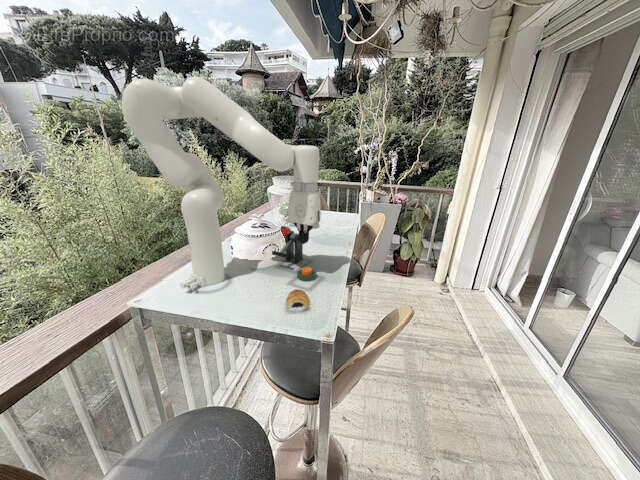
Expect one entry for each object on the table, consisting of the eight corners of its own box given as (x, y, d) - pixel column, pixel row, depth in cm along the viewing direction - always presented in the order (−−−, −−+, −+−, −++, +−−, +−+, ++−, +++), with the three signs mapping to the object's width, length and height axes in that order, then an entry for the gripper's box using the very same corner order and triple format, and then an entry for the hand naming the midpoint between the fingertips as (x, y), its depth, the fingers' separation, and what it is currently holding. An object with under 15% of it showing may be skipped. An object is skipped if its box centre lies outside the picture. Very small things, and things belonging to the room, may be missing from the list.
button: (308, 277, 90) (308, 272, 89) (299, 274, 91) (299, 270, 91) (313, 272, 93) (313, 268, 92) (304, 270, 94) (304, 266, 94)
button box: (309, 290, 87) (309, 281, 86) (289, 283, 90) (288, 275, 89) (323, 277, 95) (323, 270, 94) (304, 272, 99) (304, 264, 98)
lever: (286, 260, 94) (285, 255, 92) (272, 256, 96) (271, 251, 95) (303, 239, 102) (302, 234, 100) (290, 236, 104) (288, 231, 103)
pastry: (287, 294, 84) (287, 284, 82) (308, 294, 84) (308, 284, 83) (286, 312, 75) (286, 301, 74) (309, 312, 76) (310, 300, 74)
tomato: (278, 237, 133) (277, 222, 130) (294, 239, 131) (294, 224, 128) (270, 243, 125) (270, 227, 122) (288, 245, 123) (288, 229, 120)
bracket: (295, 272, 98) (295, 240, 94) (275, 266, 102) (275, 235, 97) (311, 261, 108) (312, 231, 104) (292, 256, 112) (292, 227, 108)
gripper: (278, 185, 82) (278, 241, 89) (321, 192, 76) (317, 251, 82) (292, 183, 89) (291, 235, 95) (332, 188, 82) (328, 244, 89)
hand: (303, 242), depth 89 cm, fingers closed
